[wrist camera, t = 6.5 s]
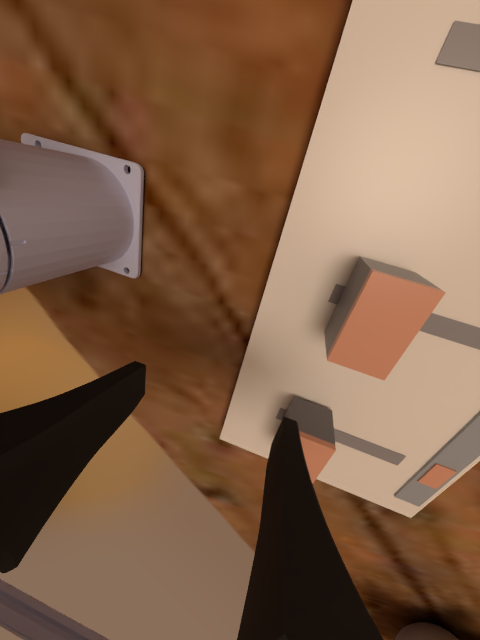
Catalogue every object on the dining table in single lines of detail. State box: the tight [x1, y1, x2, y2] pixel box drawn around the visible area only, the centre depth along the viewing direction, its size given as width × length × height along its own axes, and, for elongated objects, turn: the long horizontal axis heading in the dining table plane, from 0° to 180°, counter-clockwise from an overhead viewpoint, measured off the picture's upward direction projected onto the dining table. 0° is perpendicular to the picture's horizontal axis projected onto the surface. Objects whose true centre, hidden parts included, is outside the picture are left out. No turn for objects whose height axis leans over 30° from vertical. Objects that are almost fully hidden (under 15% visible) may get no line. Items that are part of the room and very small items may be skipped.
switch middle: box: [324, 256, 446, 381], centre depth 13 cm, size 3×5×3 cm, turn 167°
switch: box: [274, 396, 336, 484], centre depth 18 cm, size 3×5×3 cm, turn 166°
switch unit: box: [220, 0, 480, 518], centre depth 15 cm, size 18×34×2 cm, turn 167°
